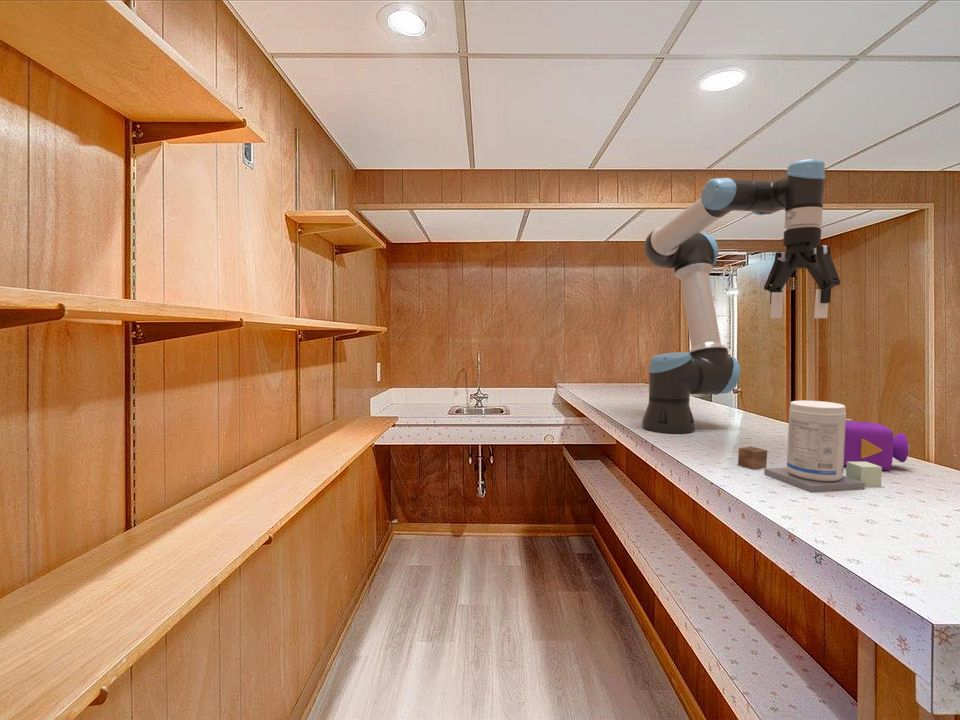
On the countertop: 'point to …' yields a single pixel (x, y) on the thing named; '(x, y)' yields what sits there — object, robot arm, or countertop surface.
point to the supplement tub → (816, 440)
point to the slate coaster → (813, 485)
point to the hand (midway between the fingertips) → (797, 318)
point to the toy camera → (873, 444)
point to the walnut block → (752, 457)
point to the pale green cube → (865, 473)
